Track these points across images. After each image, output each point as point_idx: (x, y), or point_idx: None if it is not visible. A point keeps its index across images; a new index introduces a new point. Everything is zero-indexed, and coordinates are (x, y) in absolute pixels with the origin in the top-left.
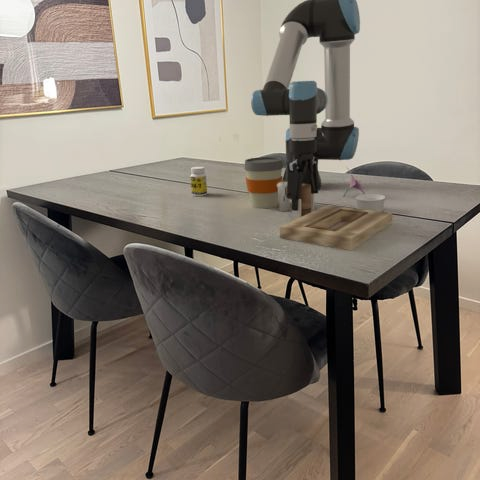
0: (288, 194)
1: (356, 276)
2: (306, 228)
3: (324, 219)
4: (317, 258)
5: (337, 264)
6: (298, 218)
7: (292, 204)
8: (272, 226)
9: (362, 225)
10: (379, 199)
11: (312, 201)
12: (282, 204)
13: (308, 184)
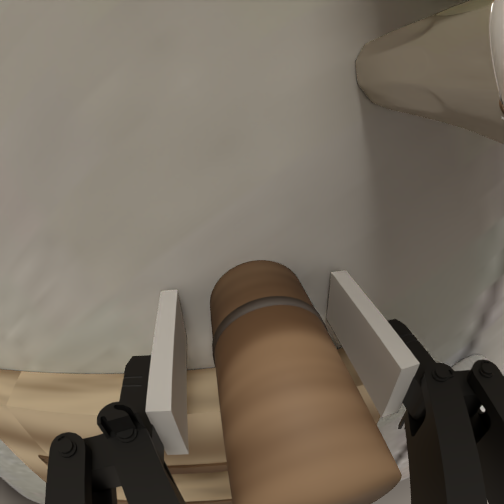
0: (60, 468)
1: (28, 495)
2: (34, 459)
3: None
4: (9, 462)
5: (26, 482)
6: (77, 416)
7: (123, 397)
8: (20, 257)
9: None
10: (482, 405)
11: (361, 374)
12: (380, 75)
13: (372, 499)
